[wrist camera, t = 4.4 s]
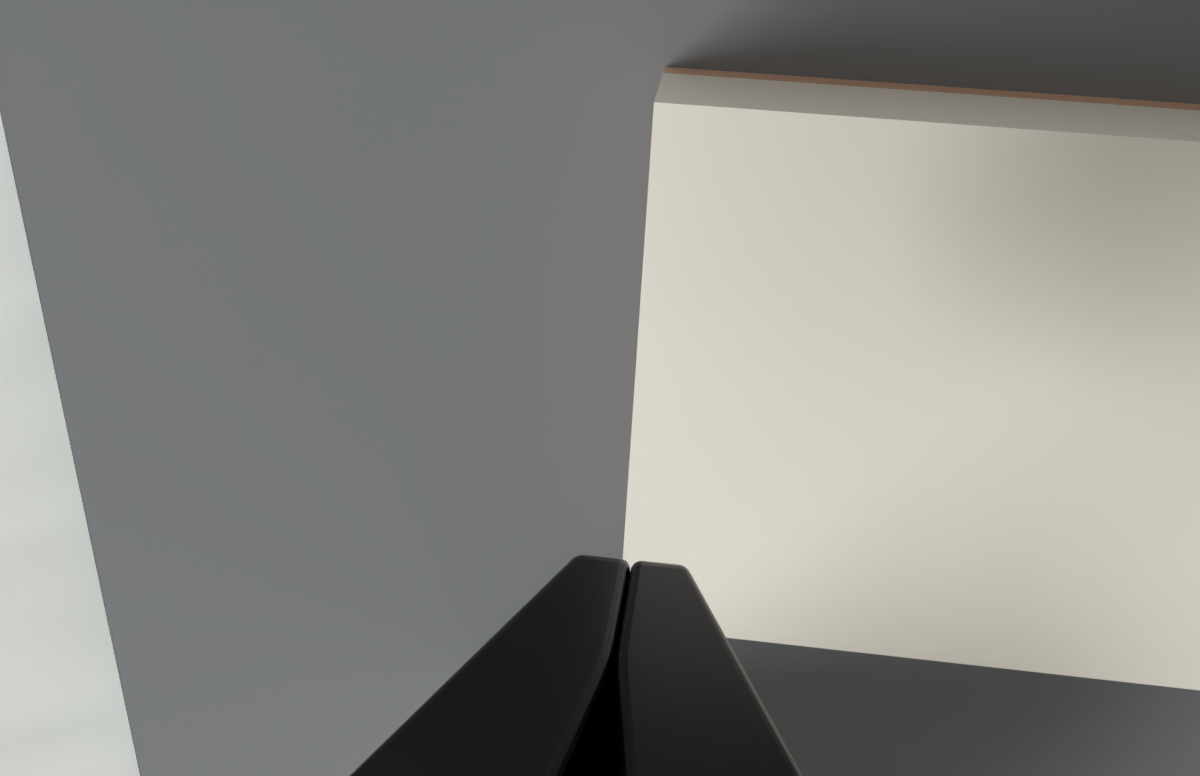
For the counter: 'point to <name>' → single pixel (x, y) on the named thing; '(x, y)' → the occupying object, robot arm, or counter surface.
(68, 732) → the counter surface
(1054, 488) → the cream angular block
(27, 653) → the counter surface
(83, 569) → the counter surface
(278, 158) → the slate mat
